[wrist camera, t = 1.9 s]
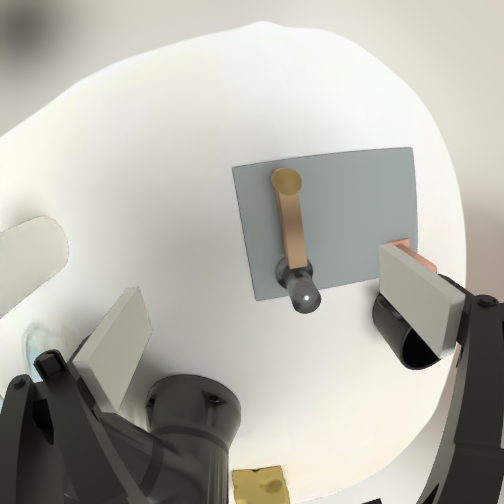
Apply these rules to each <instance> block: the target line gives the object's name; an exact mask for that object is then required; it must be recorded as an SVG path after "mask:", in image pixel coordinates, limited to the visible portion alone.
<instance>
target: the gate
mask: <svg viewBox="0 0 504 504" xmlns="http://www.w3.org/2000/svg"><path fill="white" fill-rule="evenodd" d="M272 172H273V173H272V176H271V183H272V185H273V186H274V187H275V191H276V197H277V204H278V210H279V217H280V224H281V230H282V237H283V244H284V252H285V258H286V260H287V263H288V265H289V268H290V269H294V268H300V267H305V266H307V257H306V248H305V240H304V231H303V223H302V216H301V208H300V201H299V194H298V191H299V190H300V188H301V186H302V179H301V177H300V175H299V174H298V173H297V172H296V171H295V170H293V169H286V168H278V169H276V170H275V171H272Z"/></svg>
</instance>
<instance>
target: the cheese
mask: <svg viewBox="0 0 504 504" xmlns="http://www.w3.org/2000/svg"><path fill="white" fill-rule="evenodd" d="M232 479H233V484H234V499H235V501H236V504H290V498H289V492H288V489H287V486H286V483H285V480H284V478H283V473H282V469H281V466H276V467H269V468H263V469H260V470H259V471H252V470H234V472H233V476H232Z"/></svg>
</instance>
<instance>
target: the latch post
mask: <svg viewBox="0 0 504 504" xmlns="http://www.w3.org/2000/svg"><path fill="white" fill-rule="evenodd" d="M390 243H391V244H393V245H394V246H396V247H398V248H399V249H401V250H402V251H404V252H405V253H407V254H408V255H410V256H411V257H413V258H414V259H416V260H417V261H419V262H420V263H422V264H423V265H424V266H426V267H427V268H429V269H430V270H432V271H433V272H435V273H436V274H437V268H436V266H435V265H434V264H433V263H431V262H430V261H428V260H427V259H425V258H424V257H422V256H420V255H419V254H417V253H416V252H414V251H413V250H411V249H409V239H408V238H406V239H401V240H395V241H390V242H387V244H390Z"/></svg>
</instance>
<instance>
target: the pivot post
mask: <svg viewBox="0 0 504 504" xmlns="http://www.w3.org/2000/svg"><path fill="white" fill-rule="evenodd" d="M312 277H313V267H312V265H311V263H310V261H309V260H308V259H307V266H305V267H300V268H294V269H290V268H289V265H288V263H287V260H286V258H285V257H284V258H283V259H281V260H280V262H279V263H278V265H277V267H276V278H277V281H278V283H279V284H280V285H281V286H282V287H283V288H285V289H287V290H288V292H289V295H290V298H291V301H292V304H293V307H294V309H295V310H296V311H297V312H299V313H303V314H308V313H311V312H313V311H315V310H316V309H317V308H318V307H319V305H320V303H321V296H320V293H319V291H318V290H317V288H316V286H315V284H314V282H313V281H312Z"/></svg>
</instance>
